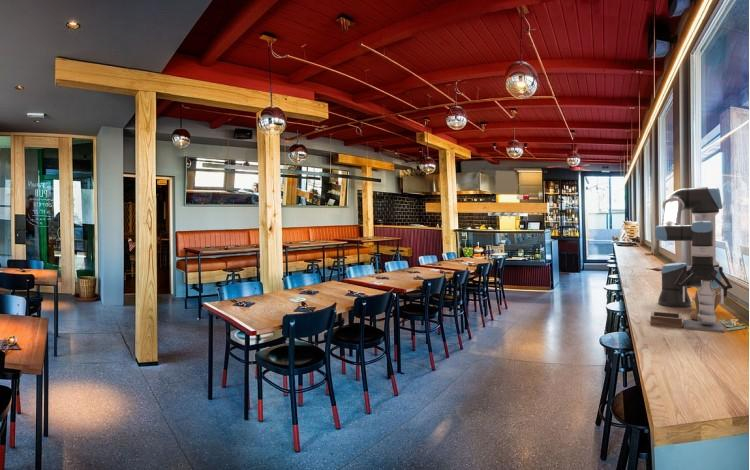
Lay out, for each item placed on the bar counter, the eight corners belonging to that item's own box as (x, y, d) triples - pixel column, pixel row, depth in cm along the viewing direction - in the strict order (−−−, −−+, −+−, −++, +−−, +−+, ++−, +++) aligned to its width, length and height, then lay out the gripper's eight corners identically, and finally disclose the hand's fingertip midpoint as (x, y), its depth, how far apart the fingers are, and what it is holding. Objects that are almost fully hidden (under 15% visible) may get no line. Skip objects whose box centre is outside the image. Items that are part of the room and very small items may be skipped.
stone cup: (719, 324, 191) (719, 292, 191) (687, 321, 200) (687, 289, 199) (722, 318, 202) (722, 287, 202) (691, 315, 211) (691, 285, 210)
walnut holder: (651, 319, 205) (651, 311, 205) (681, 322, 198) (681, 313, 198) (650, 324, 195) (650, 316, 195) (682, 327, 188) (682, 318, 188)
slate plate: (683, 321, 199) (683, 319, 199) (721, 325, 190) (721, 323, 190) (683, 328, 187) (683, 326, 187) (724, 332, 179) (724, 330, 179)
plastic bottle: (720, 326, 185) (719, 281, 184) (704, 326, 185) (704, 281, 184) (708, 323, 191) (708, 279, 190) (693, 323, 191) (693, 279, 191)
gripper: (668, 255, 192) (668, 301, 193) (740, 256, 177) (740, 306, 178) (668, 254, 198) (668, 298, 199) (737, 255, 183) (738, 303, 184)
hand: (702, 302), depth 189 cm, fingers open, 13 cm apart
